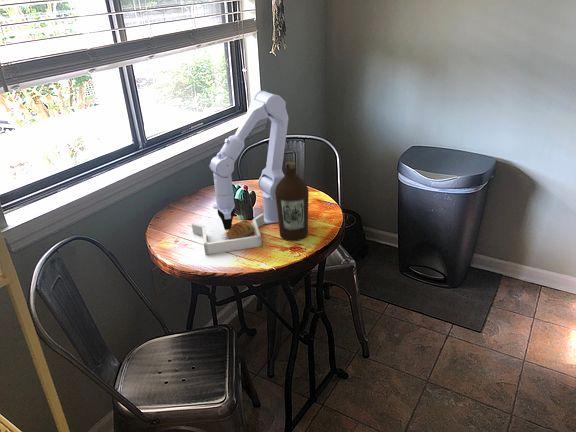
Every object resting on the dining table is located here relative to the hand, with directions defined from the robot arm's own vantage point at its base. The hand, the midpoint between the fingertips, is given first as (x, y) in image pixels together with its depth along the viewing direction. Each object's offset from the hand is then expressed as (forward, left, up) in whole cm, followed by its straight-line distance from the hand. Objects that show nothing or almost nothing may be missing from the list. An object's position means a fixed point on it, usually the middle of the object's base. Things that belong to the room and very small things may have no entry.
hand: (227, 229), depth 159 cm
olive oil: (-21, +8, -2) cm, 23 cm away
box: (-1, +4, -1) cm, 5 cm away
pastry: (-4, +2, -1) cm, 5 cm away
